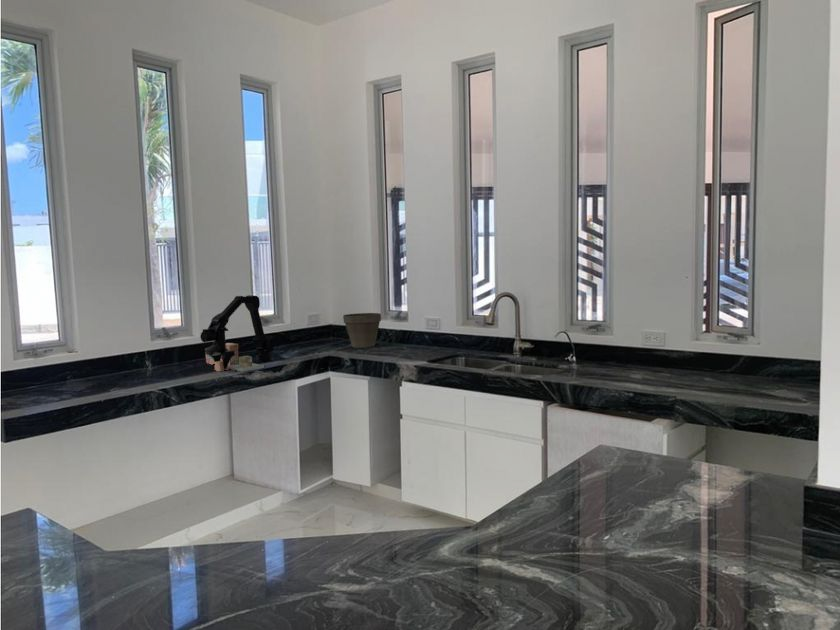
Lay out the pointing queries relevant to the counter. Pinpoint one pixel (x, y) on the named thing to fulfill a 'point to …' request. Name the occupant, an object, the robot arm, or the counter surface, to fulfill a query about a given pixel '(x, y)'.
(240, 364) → the beech brick
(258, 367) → the baseplate
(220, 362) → the brownish pink cube
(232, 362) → the stack of blocks
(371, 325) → the plant pot
